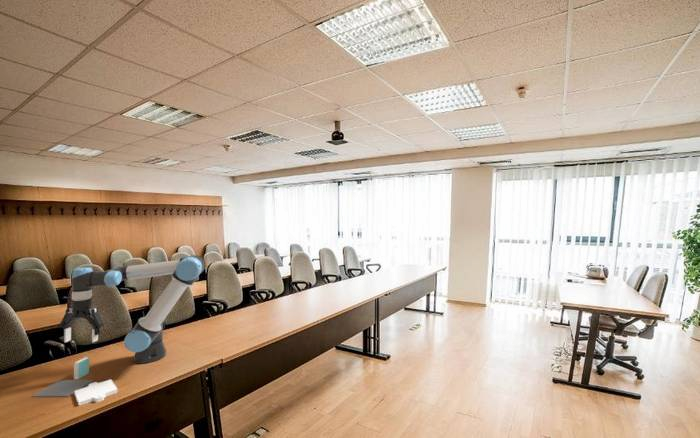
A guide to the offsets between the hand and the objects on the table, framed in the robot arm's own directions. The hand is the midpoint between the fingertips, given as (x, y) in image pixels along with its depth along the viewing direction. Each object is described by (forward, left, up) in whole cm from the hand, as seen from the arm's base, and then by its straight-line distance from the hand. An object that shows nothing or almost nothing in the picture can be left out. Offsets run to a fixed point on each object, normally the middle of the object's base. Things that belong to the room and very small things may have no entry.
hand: (81, 341), depth 147 cm
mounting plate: (-20, +15, -18) cm, 31 cm away
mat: (-2, +11, -17) cm, 21 cm away
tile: (0, 0, -17) cm, 17 cm away
